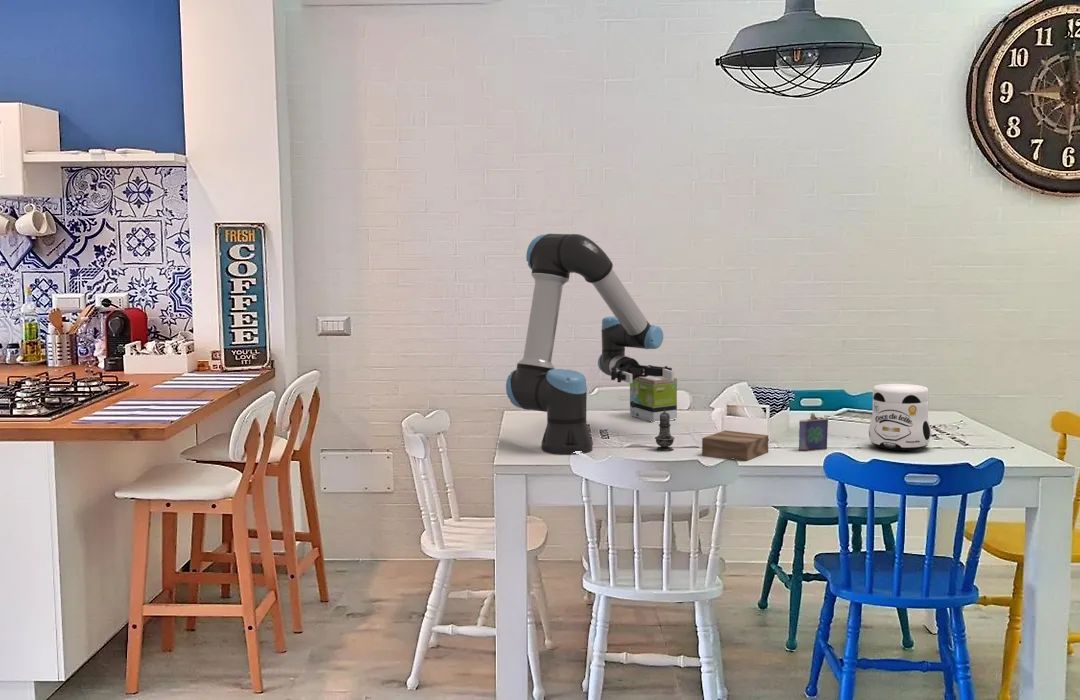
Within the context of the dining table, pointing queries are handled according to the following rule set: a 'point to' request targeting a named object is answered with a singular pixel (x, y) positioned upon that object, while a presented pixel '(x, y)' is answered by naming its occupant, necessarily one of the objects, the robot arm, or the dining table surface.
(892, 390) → the milk container
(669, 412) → the tea box
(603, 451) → the dining table surface
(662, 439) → the salt shaker
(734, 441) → the base block
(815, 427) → the flask
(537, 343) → the robot arm
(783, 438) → the dining table surface
